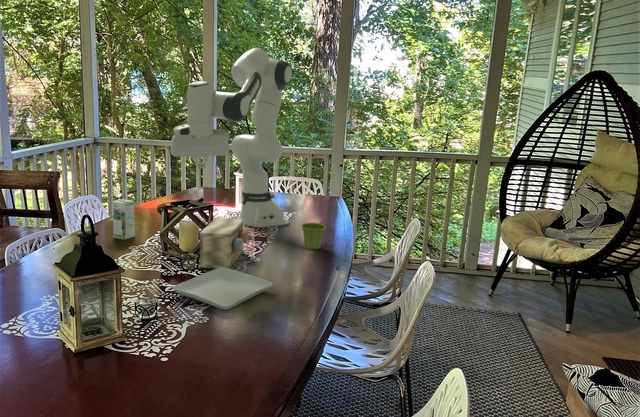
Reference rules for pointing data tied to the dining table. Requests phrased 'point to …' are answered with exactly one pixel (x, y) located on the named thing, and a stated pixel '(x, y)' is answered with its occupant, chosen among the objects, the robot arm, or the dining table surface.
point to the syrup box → (123, 219)
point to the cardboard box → (219, 243)
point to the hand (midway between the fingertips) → (200, 168)
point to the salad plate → (223, 287)
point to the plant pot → (313, 235)
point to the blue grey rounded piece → (237, 244)
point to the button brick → (243, 236)
